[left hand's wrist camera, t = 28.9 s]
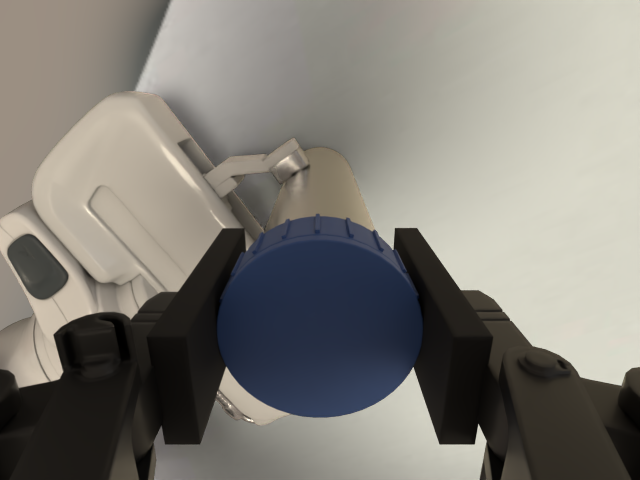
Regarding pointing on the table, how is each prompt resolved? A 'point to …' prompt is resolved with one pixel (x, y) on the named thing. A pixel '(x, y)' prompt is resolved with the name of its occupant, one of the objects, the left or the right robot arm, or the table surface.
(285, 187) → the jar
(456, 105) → the table surface
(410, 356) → the lid
